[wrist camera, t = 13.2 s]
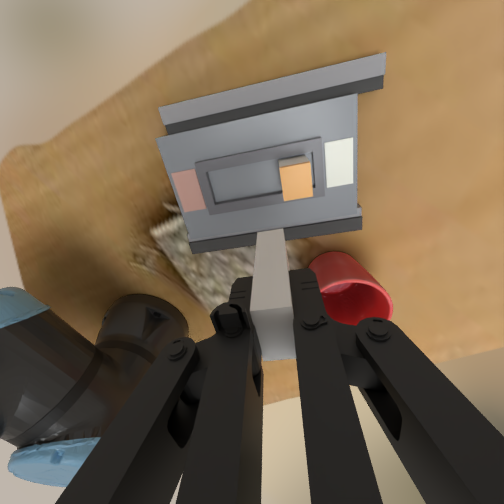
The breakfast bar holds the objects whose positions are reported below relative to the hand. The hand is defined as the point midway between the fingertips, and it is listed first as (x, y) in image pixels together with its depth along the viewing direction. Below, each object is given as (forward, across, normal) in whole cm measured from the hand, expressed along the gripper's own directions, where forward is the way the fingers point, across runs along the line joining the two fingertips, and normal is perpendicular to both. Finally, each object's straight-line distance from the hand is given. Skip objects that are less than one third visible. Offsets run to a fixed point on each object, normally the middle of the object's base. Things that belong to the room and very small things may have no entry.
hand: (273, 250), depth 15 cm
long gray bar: (+20, -1, -8) cm, 22 cm away
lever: (+17, +3, 0) cm, 17 cm away
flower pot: (+21, +7, -17) cm, 27 cm away
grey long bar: (+20, +1, +9) cm, 22 cm away
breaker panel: (+20, -1, 0) cm, 20 cm away
